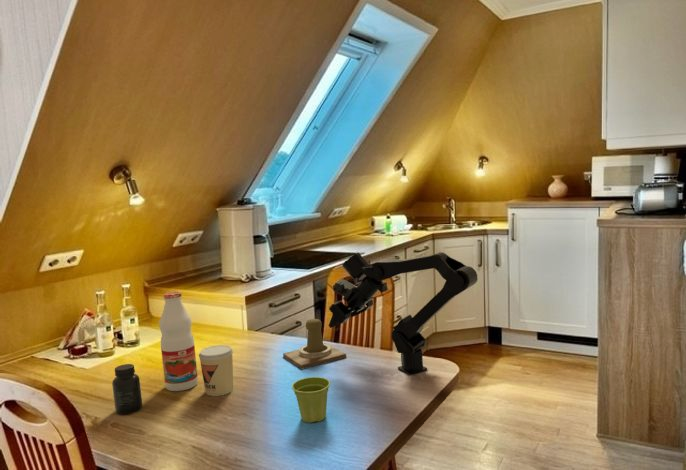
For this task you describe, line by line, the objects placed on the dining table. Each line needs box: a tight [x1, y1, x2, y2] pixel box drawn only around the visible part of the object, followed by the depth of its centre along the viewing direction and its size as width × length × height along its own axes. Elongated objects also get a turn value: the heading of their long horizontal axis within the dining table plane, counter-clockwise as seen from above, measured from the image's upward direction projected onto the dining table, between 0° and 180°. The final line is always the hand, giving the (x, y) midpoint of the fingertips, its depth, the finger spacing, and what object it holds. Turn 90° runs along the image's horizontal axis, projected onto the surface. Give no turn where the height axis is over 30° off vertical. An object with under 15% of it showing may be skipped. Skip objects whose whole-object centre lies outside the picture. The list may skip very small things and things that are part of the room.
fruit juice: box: [158, 290, 199, 392], centre depth 161 cm, size 9×9×28 cm
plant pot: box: [291, 376, 331, 424], centre depth 136 cm, size 9×9×9 cm
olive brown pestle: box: [305, 318, 325, 353], centre depth 180 cm, size 6×6×11 cm
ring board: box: [282, 342, 347, 370], centre depth 180 cm, size 14×16×2 cm
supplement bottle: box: [111, 363, 143, 416], centre depth 147 cm, size 7×7×12 cm
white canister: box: [198, 344, 234, 397], centre depth 157 cm, size 9×9×12 cm
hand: (337, 322), depth 176 cm, fingers open, 9 cm apart
